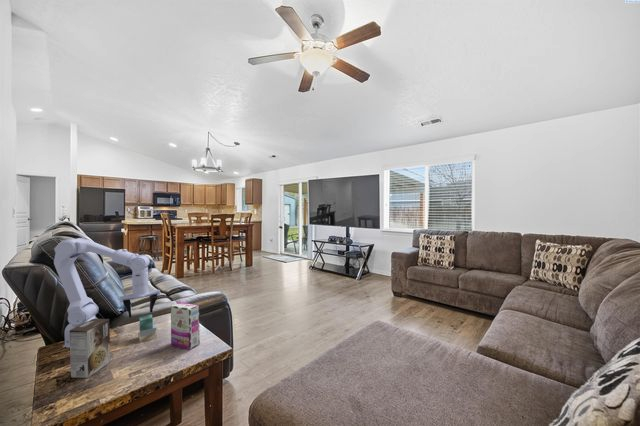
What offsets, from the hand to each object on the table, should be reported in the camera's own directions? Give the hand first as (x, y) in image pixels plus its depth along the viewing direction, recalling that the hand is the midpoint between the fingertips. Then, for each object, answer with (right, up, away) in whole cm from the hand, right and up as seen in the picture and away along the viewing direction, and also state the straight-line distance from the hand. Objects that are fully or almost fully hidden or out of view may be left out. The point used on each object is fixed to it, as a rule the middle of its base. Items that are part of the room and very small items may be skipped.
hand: (140, 314), depth 113 cm
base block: (+4, -10, -1) cm, 11 cm away
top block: (+4, -8, -1) cm, 9 cm away
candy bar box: (+23, -10, -7) cm, 26 cm away
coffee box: (-1, -11, -23) cm, 25 cm away
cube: (+3, -5, -2) cm, 6 cm away
